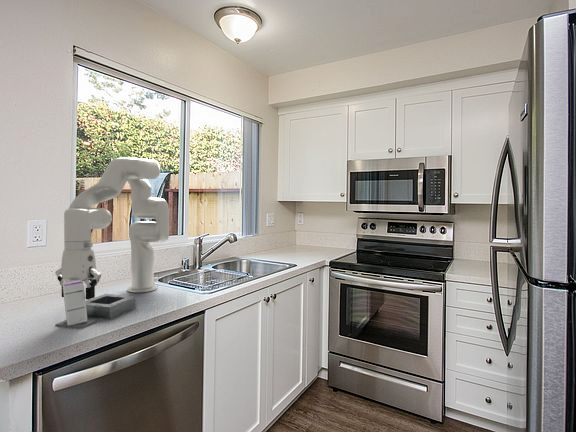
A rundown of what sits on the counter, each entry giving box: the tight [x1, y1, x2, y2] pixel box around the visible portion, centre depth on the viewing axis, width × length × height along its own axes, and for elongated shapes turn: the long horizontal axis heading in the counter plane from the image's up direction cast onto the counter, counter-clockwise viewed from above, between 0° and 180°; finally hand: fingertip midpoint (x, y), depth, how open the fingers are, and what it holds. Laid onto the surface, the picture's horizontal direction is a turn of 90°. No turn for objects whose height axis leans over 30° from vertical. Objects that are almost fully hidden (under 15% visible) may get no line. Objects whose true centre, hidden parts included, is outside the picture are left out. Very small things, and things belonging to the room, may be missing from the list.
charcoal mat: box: [54, 317, 101, 330], centre depth 112 cm, size 8×10×1 cm
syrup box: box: [62, 279, 87, 325], centre depth 110 cm, size 6×6×14 cm
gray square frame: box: [85, 293, 137, 321], centre depth 123 cm, size 14×14×4 cm
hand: (78, 297), depth 111 cm, fingers open, 9 cm apart
